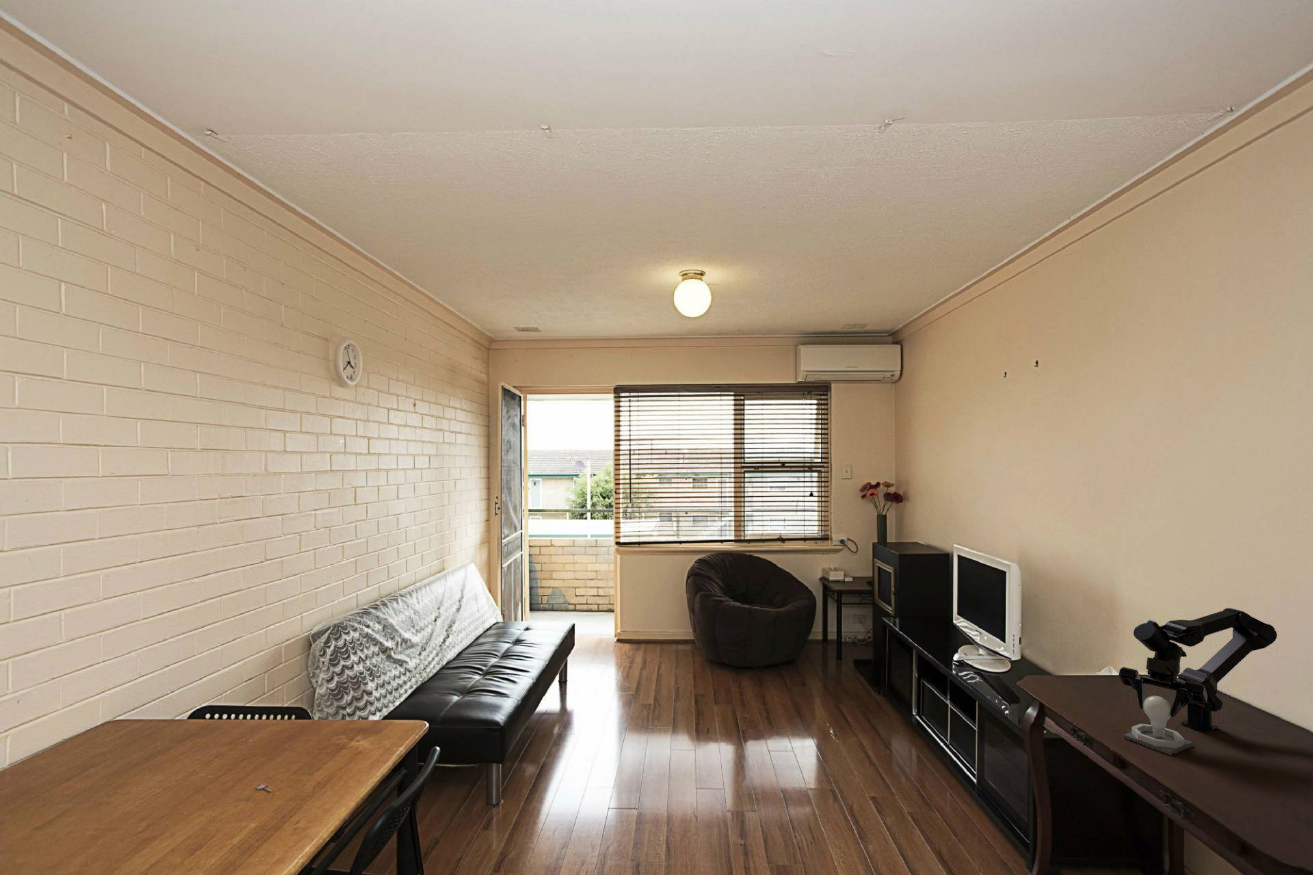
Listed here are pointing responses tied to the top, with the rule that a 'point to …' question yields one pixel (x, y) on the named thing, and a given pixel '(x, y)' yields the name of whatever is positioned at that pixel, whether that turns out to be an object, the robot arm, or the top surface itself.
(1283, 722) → the top surface
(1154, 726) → the lightbulb
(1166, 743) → the bulb stand
